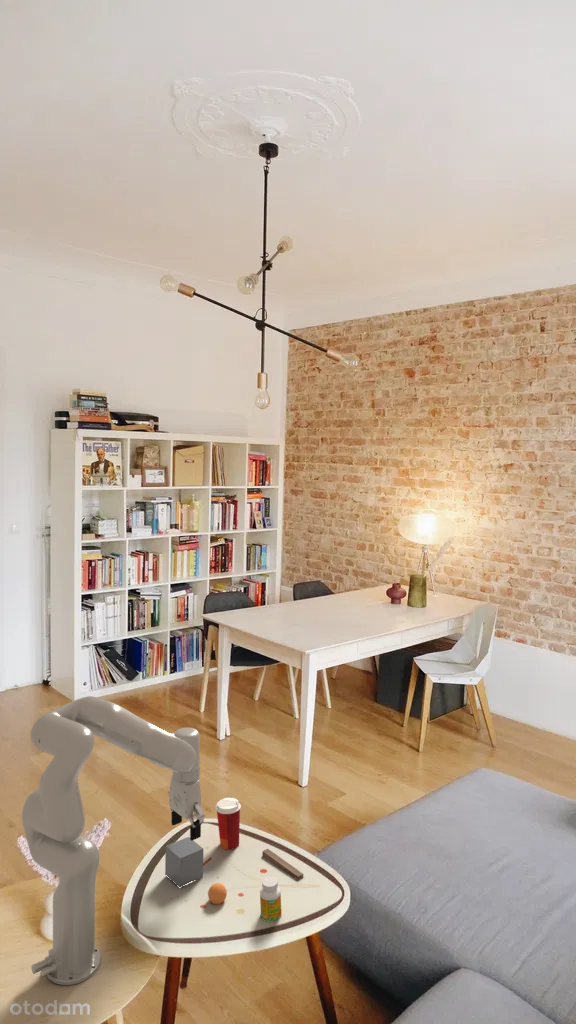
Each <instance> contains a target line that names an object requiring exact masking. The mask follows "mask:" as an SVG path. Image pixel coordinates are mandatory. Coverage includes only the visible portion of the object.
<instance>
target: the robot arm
mask: <svg viewBox="0 0 576 1024" xmlns="http://www.w3.org/2000/svg"><path fill="white" fill-rule="evenodd" d="M95 736H96V737H98V738H100V739H102V740H104V741H106V742H108V743H110V744H111V745H114V746H116V747H118V748H120V749H122V750H123V751H125V752H127V753H130V754H132V755H134V756H137V757H140V758H143V759H147V760H148V761H149V762H150V763H152V764H153V765H157V766H159V767H161V768H164V769H167V770H170V771H172V776H171V779H170V783H169V784H170V787H169V791H168V792H167V793H168V798H169V799H168V801H169V802H168V803H169V808H170V811H171V826H176V825H178V824H180V823H182V822H183V819H185V820H189V822H190V827H189V837H190V840H191V841H192V840H193V841H194V840H197V839H199V838H201V836H202V825H203V823H204V821H205V818H206V816H205V815H206V814H205V813H204V811H203V810H202V793H201V783H200V775H201V774H200V773H201V770H200V769H201V767H200V764H201V763H200V762H201V761H200V760H201V756H200V755H201V754H200V753H201V746H200V745H201V742H200V741H201V736H200V732H199V731H198V730H197V729H196V728H193V727H181V728H178V729H176V730H175V731H174V732H170V733H169V732H167V731H166V730H163V729H162V728H159V727H158V726H156V725H155V724H152V722H149V721H147V720H146V719H144V718H141V717H140V716H139V715H138V716H137V714H134V713H133V712H131V711H129V710H128V709H127V708H124V707H122V706H120V705H119V704H118V703H115V702H112V701H109V700H106V699H103V698H100V697H97V696H93V695H92V696H91V695H89V696H83V697H81V698H77V699H75V700H73V701H70V702H68V703H66V704H63V705H61V706H59V707H56V708H54V709H52V710H50V711H48V712H46V713H43V715H41V716H39V718H38V719H37V720H36V721H35V722H34V723H33V725H32V727H31V729H30V740H31V743H32V745H33V746H34V748H36V749H38V750H40V751H41V752H44V753H46V754H48V755H50V756H53V758H52V759H51V761H50V762H49V764H48V765H47V766H46V768H45V770H44V771H43V772H42V774H41V776H40V777H39V781H38V788H37V789H35V790H33V791H32V792H31V793H30V794H29V795H28V796H27V798H26V799H25V802H24V804H23V806H22V811H21V812H22V813H21V823H22V826H23V831H24V834H25V838H26V842H27V846H28V850H29V853H30V856H31V858H32V860H33V861H34V863H35V864H37V865H38V866H40V867H41V868H43V869H45V870H46V871H49V872H50V873H51V874H53V875H55V876H56V877H57V878H58V885H57V886H56V888H55V889H54V892H53V896H52V948H50V949H49V950H48V955H47V956H45V957H44V959H43V960H41V961H37V962H36V963H33V964H32V965H31V966H30V967H31V971H32V972H31V973H32V974H33V975H35V974H37V973H39V972H40V973H41V976H42V977H45V976H46V977H47V978H48V979H49V981H51V982H52V983H54V984H57V985H59V986H72V985H77V984H79V983H83V982H84V981H86V980H87V981H88V980H89V979H90V978H92V976H94V975H95V974H96V973H97V971H98V970H99V968H100V966H101V963H102V954H101V952H100V949H99V948H98V947H97V946H95V939H96V938H95V936H96V935H95V932H96V930H95V927H96V926H95V925H96V924H95V923H96V920H95V919H96V918H95V917H96V915H95V914H96V897H95V896H96V880H97V875H98V874H97V873H98V868H99V864H100V851H99V849H98V846H97V845H96V844H95V843H94V842H93V841H92V840H90V839H89V838H87V837H86V836H84V835H82V834H83V832H84V830H85V825H86V817H85V815H86V813H85V810H84V809H85V808H84V805H83V802H82V801H83V800H82V796H81V793H80V792H81V791H80V788H79V787H80V786H79V775H80V773H81V770H82V768H83V767H84V765H85V763H86V762H87V760H88V759H89V758H90V756H91V754H92V752H93V749H94V747H95ZM194 818H196V820H194Z"/></svg>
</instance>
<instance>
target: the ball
mask: <svg viewBox="0 0 576 1024" xmlns="http://www.w3.org/2000/svg"><path fill="white" fill-rule="evenodd" d="M227 894H228V890H227V888H226V886H225V885H224V884H223V883H220V882H216V883H213V884H212V885H210V886H209V889H208V891H207V896H208V899H209V901H210V902H211V903H212V904H213V905H220V904H222V903H223V902H225V900H226V898H227Z"/></svg>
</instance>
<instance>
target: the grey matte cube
mask: <svg viewBox="0 0 576 1024" xmlns="http://www.w3.org/2000/svg"><path fill="white" fill-rule="evenodd" d="M164 864H165V866H164V870H165V871H164V873H165V874H164V876H165V875H167V876H168V877H169V878H170V879H171V880H172V881H174V882H175V883H176V884H177V885H178V886H179V887H181V886H183V885H185V884H187V883H189V882H191V881H194V880H197V879H199V880H201V879H202V878H204V847H202V846H201V845H200V844H198V842H196V841H194V840H192V841H191V840H190V836H187V837H185V838H182V839H180V840H177V841H174V842H172V843H169V844H167V845H165V863H164ZM200 878H201V879H200ZM172 881H171V882H172ZM197 881H198V880H197Z"/></svg>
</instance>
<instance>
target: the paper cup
mask: <svg viewBox="0 0 576 1024" xmlns="http://www.w3.org/2000/svg"><path fill="white" fill-rule="evenodd" d="M241 807H242V805H241V803H240V801H239V800H238V799H237V798H235V797H224V798H222V799H220V800H219V801H217V803H216V805H215V808H214V809H215V811H216V816H217V824H218V835H219V842H220V847H221V849H223V850H230V851H231V850H234V849H236V848H239V846H240V826H241V825H240V821H241V819H240V818H241V812H240V811H241Z"/></svg>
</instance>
